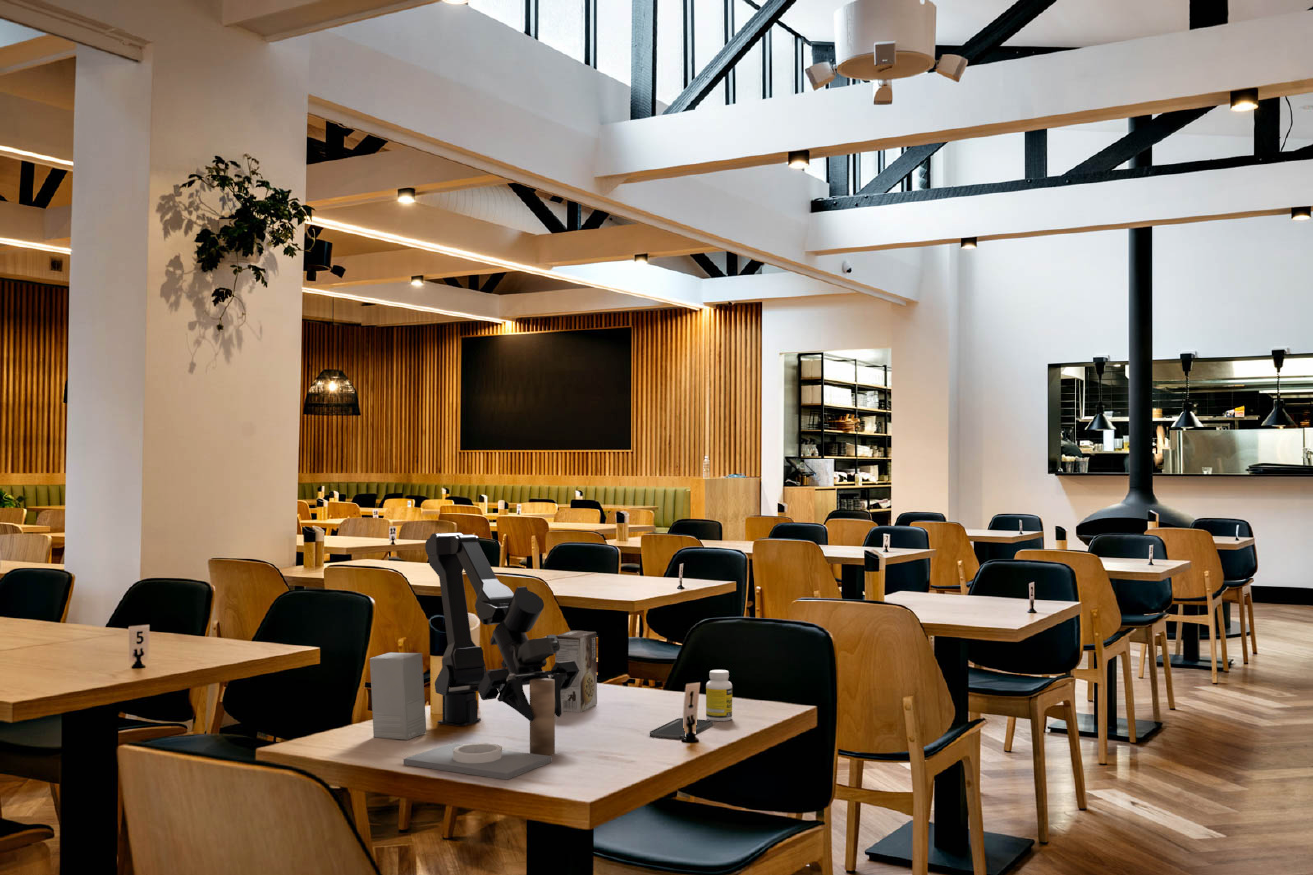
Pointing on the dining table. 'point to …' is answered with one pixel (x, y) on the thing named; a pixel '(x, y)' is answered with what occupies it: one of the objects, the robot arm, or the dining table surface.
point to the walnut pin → (542, 716)
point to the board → (480, 769)
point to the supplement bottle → (719, 696)
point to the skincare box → (398, 695)
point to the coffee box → (585, 683)
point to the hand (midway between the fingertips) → (546, 717)
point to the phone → (678, 729)
